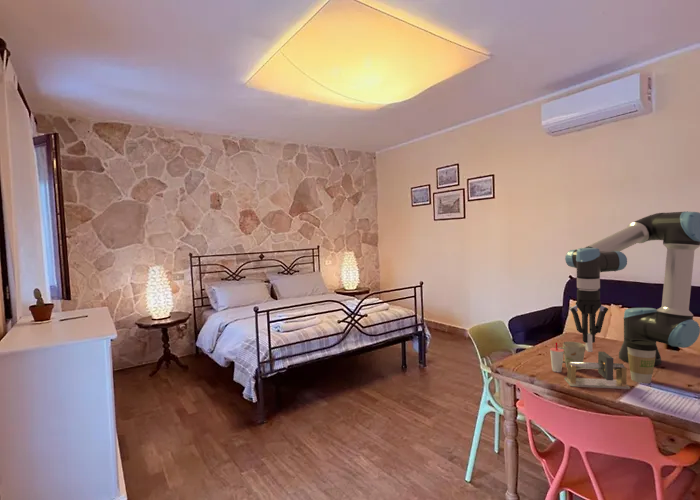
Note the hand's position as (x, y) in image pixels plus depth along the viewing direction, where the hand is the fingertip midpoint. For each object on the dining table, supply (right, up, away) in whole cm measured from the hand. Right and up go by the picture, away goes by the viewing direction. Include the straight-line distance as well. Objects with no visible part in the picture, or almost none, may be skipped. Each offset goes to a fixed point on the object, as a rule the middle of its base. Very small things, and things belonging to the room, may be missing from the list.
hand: (588, 350), depth 153 cm
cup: (-5, -12, +15) cm, 20 cm away
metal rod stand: (+3, -13, 0) cm, 13 cm away
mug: (+2, -12, +18) cm, 22 cm away
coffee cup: (+22, -12, +2) cm, 25 cm away
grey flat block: (+6, -10, -1) cm, 11 cm away
